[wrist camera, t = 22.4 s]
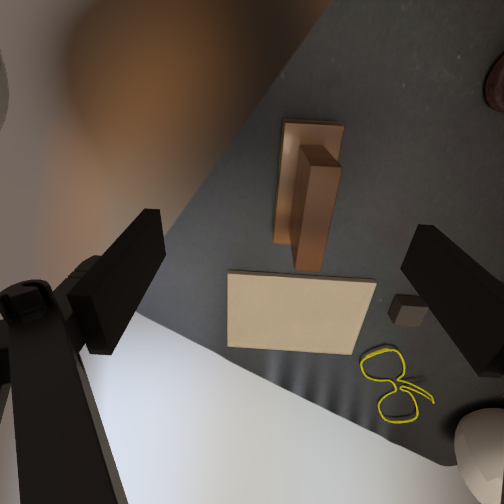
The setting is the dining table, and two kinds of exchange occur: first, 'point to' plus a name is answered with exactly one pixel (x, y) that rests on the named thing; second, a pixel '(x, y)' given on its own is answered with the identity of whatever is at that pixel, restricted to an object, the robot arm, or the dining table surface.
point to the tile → (296, 311)
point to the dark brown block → (408, 310)
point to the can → (496, 86)
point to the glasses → (395, 385)
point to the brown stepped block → (307, 188)
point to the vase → (482, 453)
